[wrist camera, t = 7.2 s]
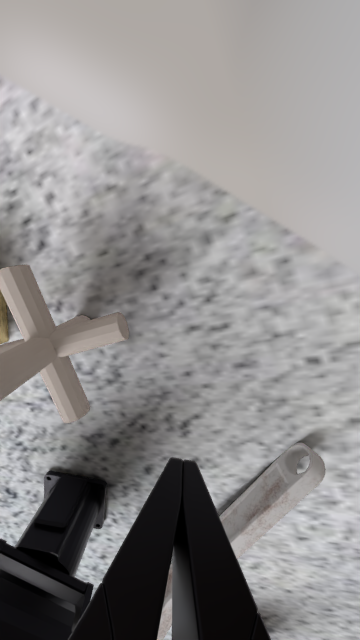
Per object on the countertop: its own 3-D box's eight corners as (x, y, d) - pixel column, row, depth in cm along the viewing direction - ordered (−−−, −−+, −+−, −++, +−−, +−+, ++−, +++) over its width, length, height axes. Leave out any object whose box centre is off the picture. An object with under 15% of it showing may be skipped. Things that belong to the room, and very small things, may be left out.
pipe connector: (52, 389, 20) (-67, 505, 10) (2, 284, 18) (-210, 307, 8) (155, 362, 19) (131, 458, 10) (118, 250, 17) (38, 230, 7)
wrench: (297, 428, 23) (125, 596, 27) (284, 418, 23) (114, 589, 27) (358, 501, 16) (104, 726, 19) (341, 487, 15) (87, 717, 19)
